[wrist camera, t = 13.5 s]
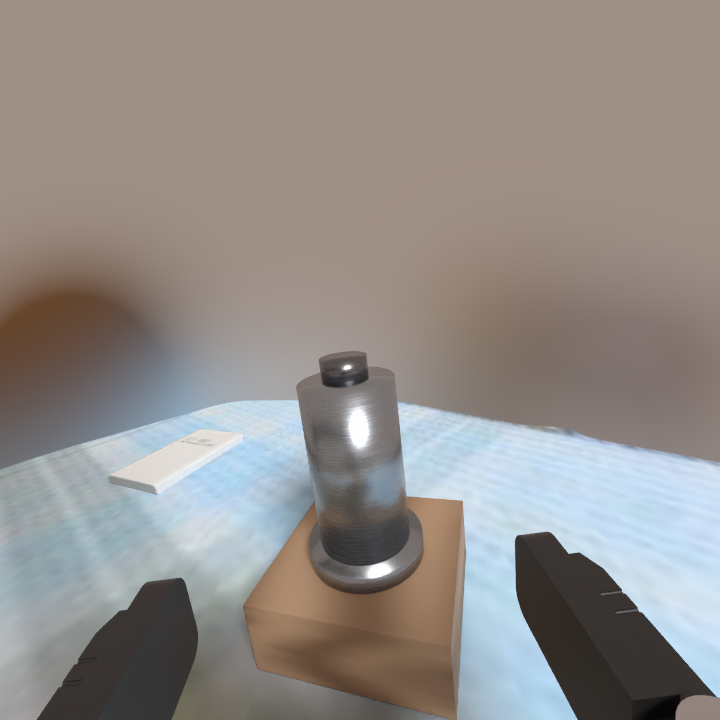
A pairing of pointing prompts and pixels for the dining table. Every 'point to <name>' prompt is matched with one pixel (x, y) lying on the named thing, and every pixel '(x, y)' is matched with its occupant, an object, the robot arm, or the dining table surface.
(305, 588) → the stand
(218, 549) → the dining table surface
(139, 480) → the external hard drive
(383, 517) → the cylinder
